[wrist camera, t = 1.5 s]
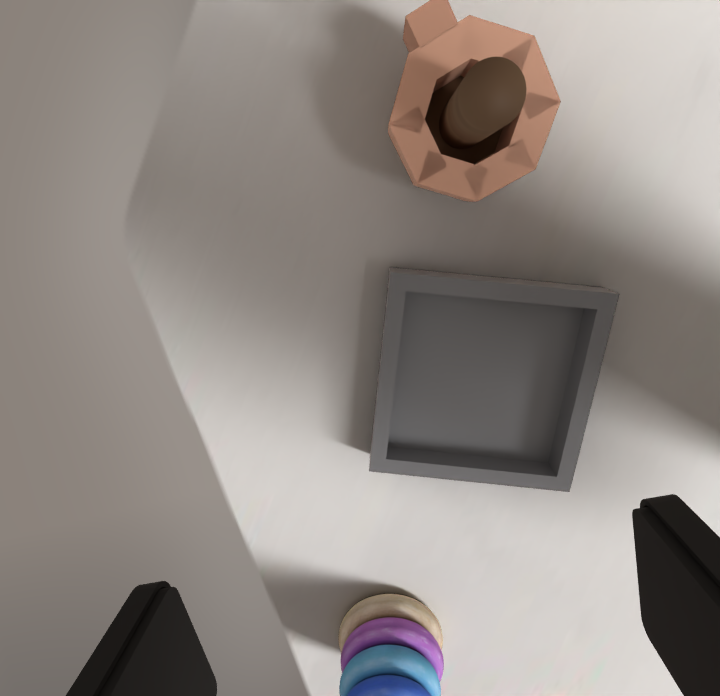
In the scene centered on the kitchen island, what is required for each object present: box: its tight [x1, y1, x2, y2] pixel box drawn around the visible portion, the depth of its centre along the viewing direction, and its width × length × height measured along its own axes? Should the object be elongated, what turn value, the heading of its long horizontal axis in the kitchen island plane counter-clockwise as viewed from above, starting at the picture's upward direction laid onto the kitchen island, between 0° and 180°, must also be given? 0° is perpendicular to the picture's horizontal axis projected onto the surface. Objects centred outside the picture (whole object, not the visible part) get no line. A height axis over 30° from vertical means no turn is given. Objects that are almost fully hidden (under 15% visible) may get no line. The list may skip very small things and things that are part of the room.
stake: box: [425, 57, 526, 164], centre depth 22 cm, size 6×6×10 cm
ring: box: [388, 0, 561, 202], centre depth 23 cm, size 7×8×3 cm
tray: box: [369, 267, 619, 492], centre depth 30 cm, size 13×13×2 cm
